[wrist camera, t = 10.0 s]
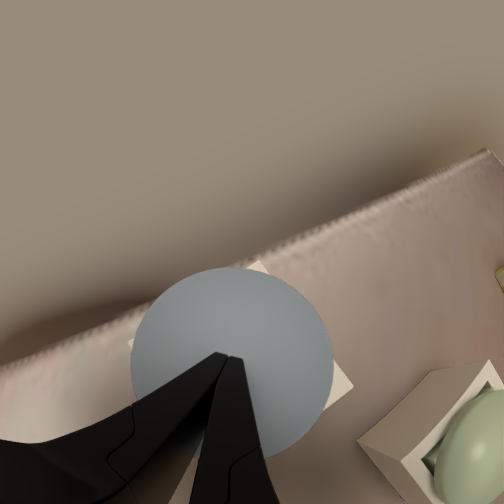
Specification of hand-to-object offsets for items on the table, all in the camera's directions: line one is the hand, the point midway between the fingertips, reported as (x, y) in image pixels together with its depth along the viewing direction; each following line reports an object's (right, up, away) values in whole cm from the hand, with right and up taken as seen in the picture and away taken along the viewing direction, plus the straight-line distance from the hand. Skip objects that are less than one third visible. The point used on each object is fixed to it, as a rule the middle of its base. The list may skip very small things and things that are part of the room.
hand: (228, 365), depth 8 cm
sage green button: (+12, -8, +3) cm, 15 cm away
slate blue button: (0, -2, +4) cm, 5 cm away
